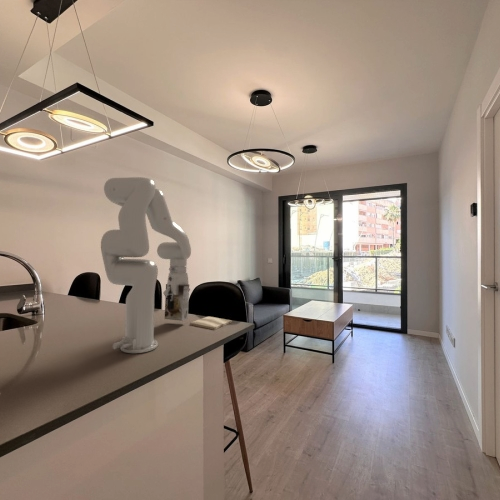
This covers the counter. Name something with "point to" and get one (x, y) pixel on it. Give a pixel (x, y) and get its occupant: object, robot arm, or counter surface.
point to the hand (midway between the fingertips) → (176, 307)
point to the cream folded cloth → (211, 322)
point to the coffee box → (178, 304)
